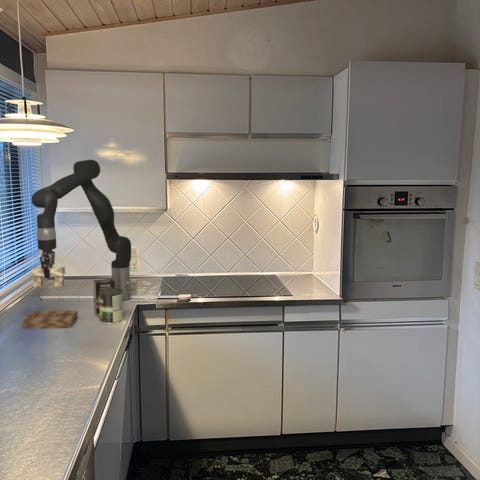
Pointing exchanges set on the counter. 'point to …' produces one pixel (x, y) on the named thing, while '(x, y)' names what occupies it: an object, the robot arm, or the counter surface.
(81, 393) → the counter surface
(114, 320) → the coffee can
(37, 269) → the beige wooden plank
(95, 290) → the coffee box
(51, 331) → the counter surface
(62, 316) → the brown slotted wooden block
